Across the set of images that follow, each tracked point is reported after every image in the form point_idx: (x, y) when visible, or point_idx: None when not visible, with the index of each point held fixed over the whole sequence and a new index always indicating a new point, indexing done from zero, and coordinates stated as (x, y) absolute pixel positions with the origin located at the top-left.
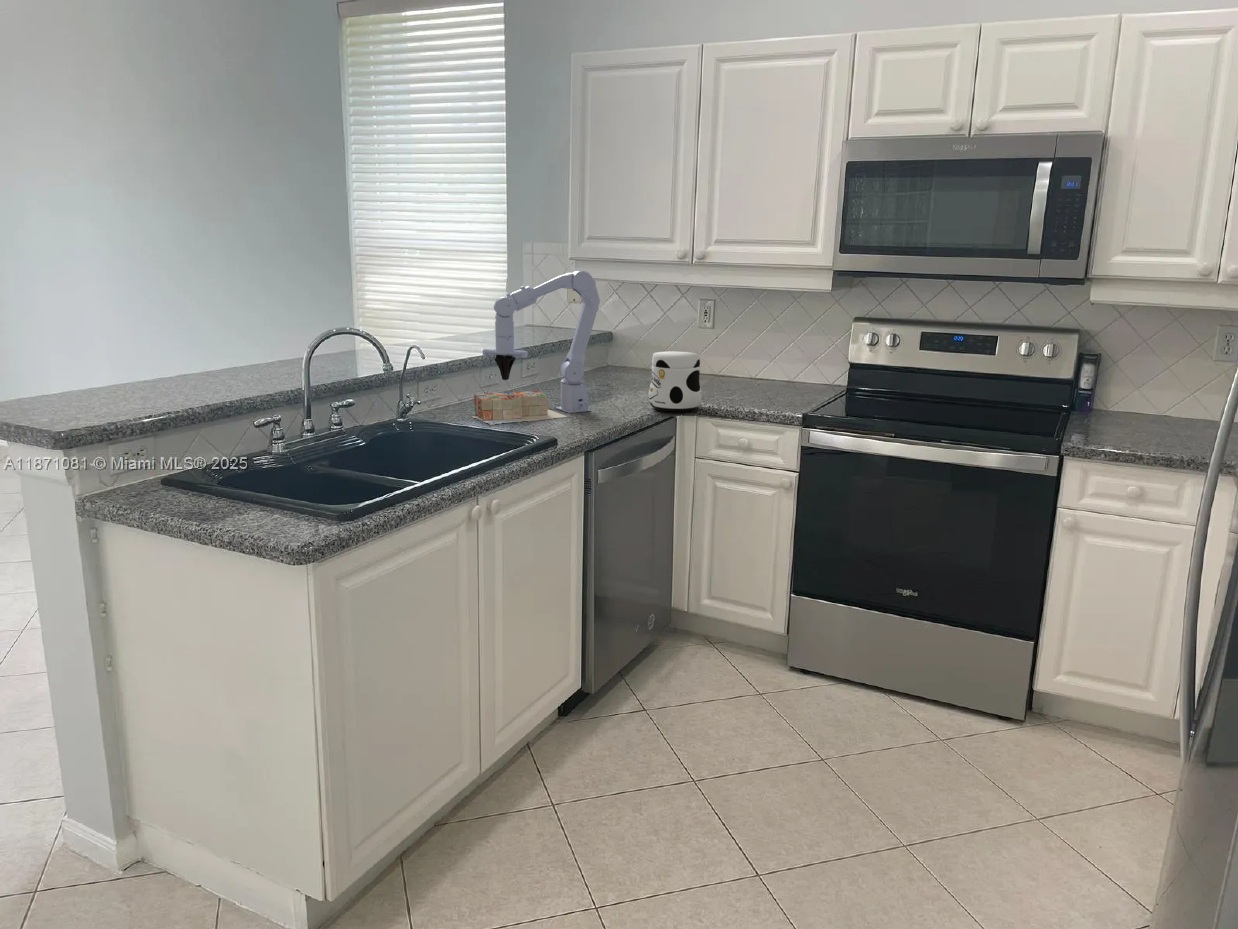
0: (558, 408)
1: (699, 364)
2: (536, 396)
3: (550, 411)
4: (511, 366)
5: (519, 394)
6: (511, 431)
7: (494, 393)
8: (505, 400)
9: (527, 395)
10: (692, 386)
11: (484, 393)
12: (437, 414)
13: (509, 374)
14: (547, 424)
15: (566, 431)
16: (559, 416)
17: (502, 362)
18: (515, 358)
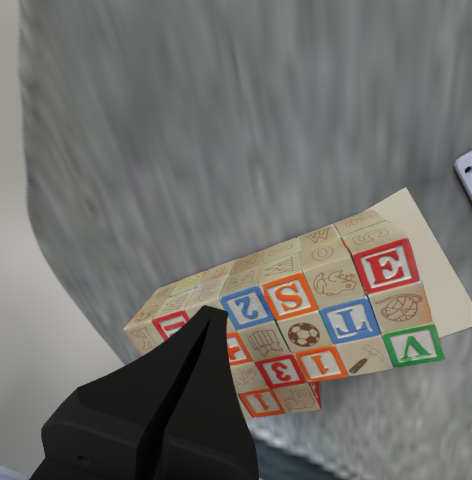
0: (467, 189)
1: None
2: (385, 367)
3: (419, 239)
4: (230, 385)
5: (302, 337)
6: (302, 450)
7: (190, 314)
8: (264, 414)
9: (342, 359)
10: None
11: (155, 322)
12: (72, 296)
13: (226, 329)
14: (394, 403)
15: (444, 465)
16: (448, 322)
17: (157, 466)
18: (257, 466)
